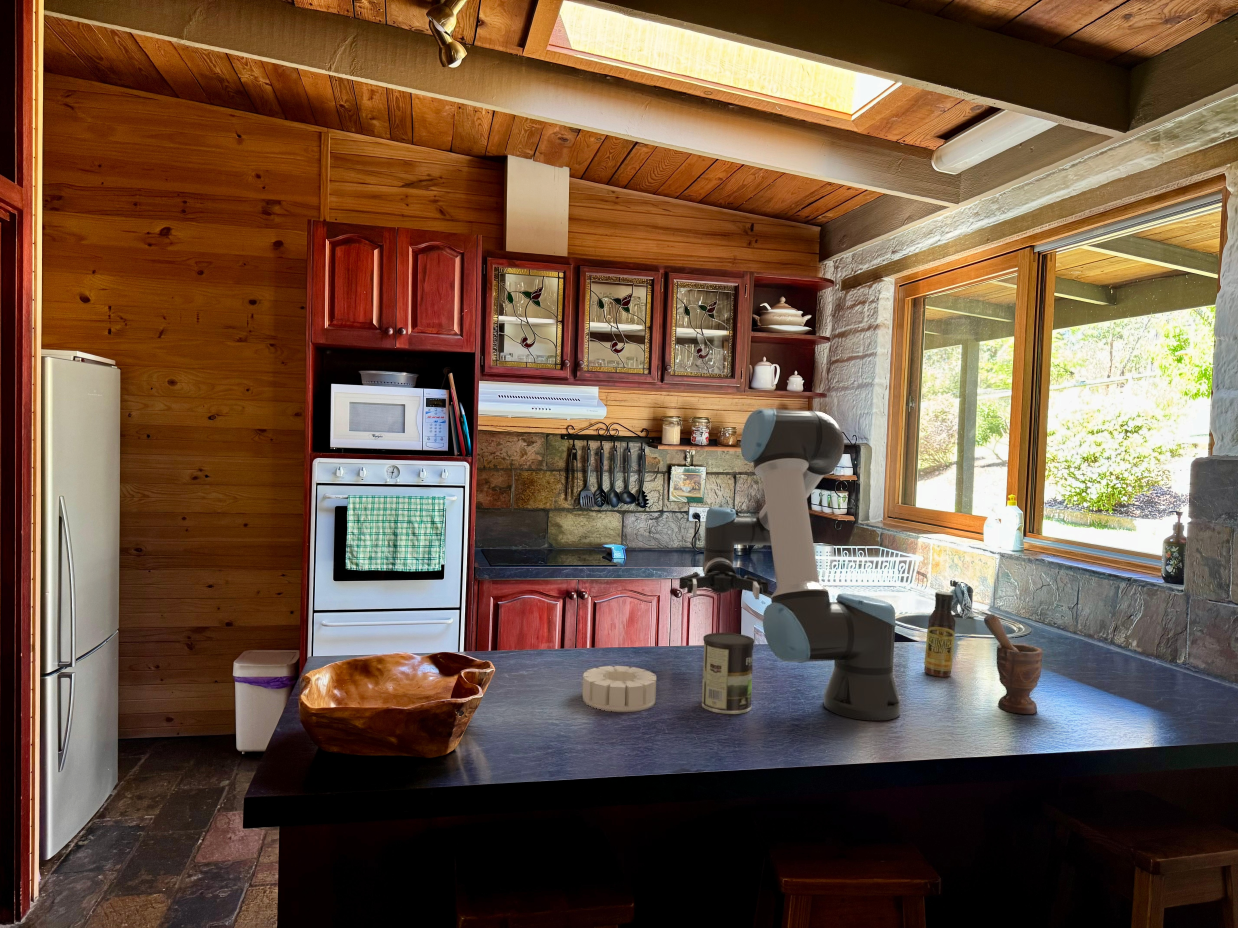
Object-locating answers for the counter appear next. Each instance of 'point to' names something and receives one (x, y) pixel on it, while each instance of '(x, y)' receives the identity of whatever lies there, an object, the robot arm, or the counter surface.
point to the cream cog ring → (619, 688)
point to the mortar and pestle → (1015, 670)
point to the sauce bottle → (940, 637)
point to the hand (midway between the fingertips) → (726, 591)
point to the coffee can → (727, 673)
